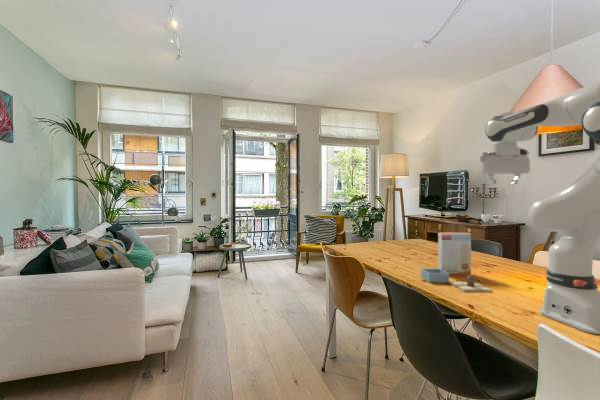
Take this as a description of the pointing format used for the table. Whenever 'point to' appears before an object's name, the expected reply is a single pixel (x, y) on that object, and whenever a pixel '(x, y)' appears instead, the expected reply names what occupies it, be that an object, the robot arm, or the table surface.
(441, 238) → the cracker box
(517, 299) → the table surface
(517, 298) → the table surface
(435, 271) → the blue square tray
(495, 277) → the table surface
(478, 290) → the lid
